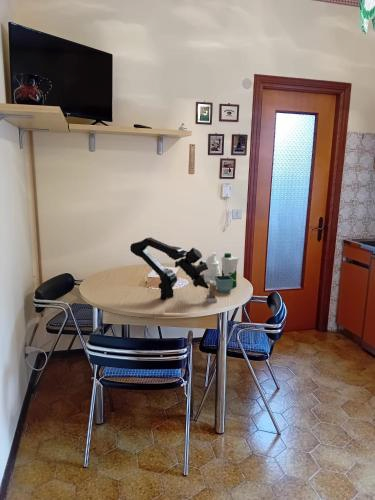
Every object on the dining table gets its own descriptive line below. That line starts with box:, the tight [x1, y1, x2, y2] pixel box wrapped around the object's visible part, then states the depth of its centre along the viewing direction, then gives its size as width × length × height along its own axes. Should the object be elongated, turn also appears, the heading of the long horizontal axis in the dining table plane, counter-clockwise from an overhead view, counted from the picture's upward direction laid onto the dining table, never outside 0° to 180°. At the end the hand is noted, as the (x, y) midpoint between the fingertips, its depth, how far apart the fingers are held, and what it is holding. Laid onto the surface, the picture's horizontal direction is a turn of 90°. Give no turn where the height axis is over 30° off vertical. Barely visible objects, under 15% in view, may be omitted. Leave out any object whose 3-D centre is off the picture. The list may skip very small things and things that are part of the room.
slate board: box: [206, 293, 218, 303], centre depth 205 cm, size 17×10×3 cm, turn 92°
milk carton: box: [220, 252, 239, 288], centre depth 233 cm, size 9×9×20 cm
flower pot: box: [215, 275, 233, 293], centre depth 221 cm, size 9×9×9 cm
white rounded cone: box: [200, 252, 222, 283], centre depth 247 cm, size 13×13×18 cm
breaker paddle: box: [208, 281, 217, 298], centre depth 203 cm, size 3×5×10 cm, turn 2°
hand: (208, 288), depth 203 cm, fingers closed
